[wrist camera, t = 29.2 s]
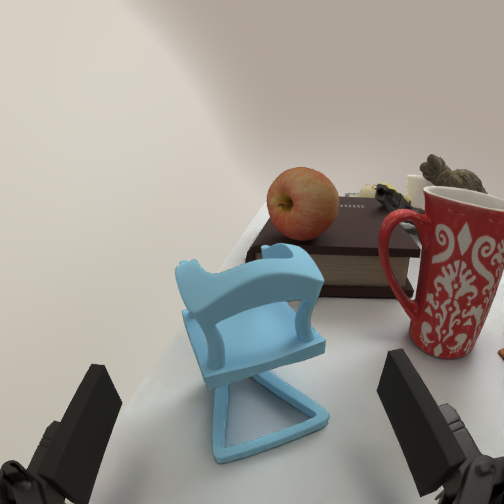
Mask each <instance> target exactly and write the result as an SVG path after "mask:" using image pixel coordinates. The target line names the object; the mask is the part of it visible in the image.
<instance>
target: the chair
mask: <svg viewBox="0 0 504 504" xmlns="http://www.w3.org/2000/svg"><path fill="white" fill-rule="evenodd" d="M261 250H262V257H263V259H259V260H255V261H251V262H248V263H245V264H242V265H240V266H237V267H235V268H232V269H230V270H227V271H224V272H221V273H215V274H211V273H209V272H206V271H205V270H204V269H203V268H202V267H201V266H200V264H199V263H198V261H197V260H196V259H193V260H190V261H187V260H183V261H180V263H179V266H177V267H176V269H175V276H176V281H177V285H178V288H179V291H180V294H181V297H182V299H183V302H184V304H185V306H186V308H187V310H183V311H182V315H183V320H184V324H185V327H186V330H187V333H188V336H189V339H190V342H191V345H192V348H193V351H194V353H195V356H196V359H197V362H198V365H199V368H200V371H201V373H202V376H203V379H204V382H205V384H206V387H207V389H208V390H209V389H213V388H215V398H214V411H213V424H212V450H213V453H214V457H215V460H216V461H217V462H218V463H227V462H231V461H234V460H237V459H241V458H244V457H247V456H250V455H253V454H256V453H259V452H262V451H265V450H268V449H271V448H274V447H276V446H279V445H282V444H284V443H287V442H290V441H292V440H295V439H297V438H299V437H302V436H304V435H307V434H309V433H311V432H314V431H316V430H318V429H320V428H323V427H324V426H326V425H327V423H328V420H329V417H330V416H329V413H328V412H327V411H326V410H325V409H324V408H322V407H321V406H320V405H319V404H317V403H316V402H314V401H313V400H311V399H310V398H308V397H307V396H305V395H304V394H302V393H301V392H299V391H298V390H296V389H295V388H293V387H292V386H290V385H289V384H287V383H286V382H284V381H283V380H281V379H280V378H278V377H277V376H276V375H274V374H273V373H271V372H270V371H269V370H271V369H274V368H277V367H280V366H284V365H288V364H292V363H296V362H300V361H304V360H307V359H310V358H312V357H315V356H318V355H320V354H323V353H325V343H326V340H325V339H324V338H323V337H322V336H321V335H320V334H319V333H318V332H317V331H316V330H315V329H314V328H312V327H311V323H310V318H311V313H312V310H313V308H314V305H315V303H316V301H317V299H318V296H319V293H320V291H321V288H322V286H323V283H324V278H323V276H322V274H321V272H320V271H319V269H318V267H317V265H316V264H315V262H314V261H313V259H312V258H311V257H310V256H309V255H308V253H307V252H306V251H305V250H303V249H302V248H300V247H299V246H294V245H290V244H284V243H277V244H274V245H272V246H268V245H263V246H261ZM293 300H303V301H302V302H301V304H300V306H299V308H298V310H297V312H295V311H294V310H293V309H292V308H291V307H290V306H289V305H288V303H287V302H286V301H293ZM251 376H252V377H253V378H254V379H255V380H257V381H258V382H259V383H260V384H262V385H263V386H265V387H266V388H267V389H269V390H270V391H272V392H273V393H274V394H276V395H277V396H279V397H280V398H282V399H283V400H285V401H286V402H288V403H289V404H291V405H293V406H294V407H296V408H297V409H299V410H300V411H302V412H304V413H305V414H307V415H308V416H310V417H311V419H309V420H306V421H304V422H301V423H299V424H296V425H294V426H291V427H288V428H286V429H283V430H280V431H277V432H275V433H272V434H269V435H266V436H263V437H260V438H257V439H254V440H250V441H247V442H244V443H241V444H237V445H234V446H230V447H225V436H226V424H227V412H228V397H229V384H232V383H235V382H238V381H240V380H243V379H245V378H248V377H251Z"/></svg>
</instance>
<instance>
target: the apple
mask: <svg viewBox="0 0 504 504" xmlns="http://www.w3.org/2000/svg"><path fill="white" fill-rule="evenodd" d="M267 207H268V211H269V215H270V219H271V221H272V223H273V225H274V226H275V228H276V229H277V230H278V231H279V232H281V233H282V234H283V235H285V236H286V237H288V238H290V239H294V240H299V241H306V240H312V239H314V238H317V237H318V236H320V235H321V234H322V233H324V232H325V231H326V230H327V229H328V228H329V227H330V226H331V225H332V223H333V222H334V221H335V219H336V217H337V215H338V211H339V196H338V192H337V190H336V188H335V187H334V185H333V184H332V182H331V181H330V180H329V179H328V178H327V177H326V176H325V175H324V174H322V173H320V172H318V171H316V170H313V169H310V168H306V167H297V168H292V169H289V170H286V171H284V172H283V173H281V174H280V175H279V176H278V177H277V178H276V179H275V181H274V182H273V183H272V185H271V186H270V188H269V190H268V194H267Z"/></svg>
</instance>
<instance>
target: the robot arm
mask: <svg viewBox="0 0 504 504" xmlns="http://www.w3.org/2000/svg"><path fill="white" fill-rule="evenodd" d="M377 393H378V395H379V397H380V400H381V402H382V404H383V406H384V409H385V411H386V413H387V415H388V418H389V420H390V422H391V425H392V427H393V429H394V432H395V434H396V437H397V439H398V441H399V444H400V446H401V449H402V451H403V453H404V456H405V458H406V461H407V463H408V466H409V469H410V471H411V474H412V476H413V479H414V481H415V484H416V487H417V489H418V492H419V495H420V497H422V496H425V495H427V494H430V493H432V492H434V491H436V490H437V489H438V488H439V487H441V486H442V485H443V488H444V490H443V491H442V492H441V493H440V494H438V495H437V496H436V498H435V500H438V499H439V498H440V499H439V502H438V504H504V457H499V458H492V457H490V456H487V455H483V454H481V452H480V451H479V449H478V448H477V446H476V444H475V442H474V440H473V439H472V437H471V435H470V433H469V432H468V430H467V428H465V425H464V423H463V421H461V418H460V416H459V415H458V413H457V412H456V410H455V409H454V408H452V407H451V406H450V405H449V404H447V403H446V404H443V405H441V406H438V405H437V404H436V402H435V400H434V399H433V397H432V395H431V394H430V392H429V390H428V389H427V387H426V385H425V384H424V382H423V380H422V379H421V377H420V375H419V374H418V372H417V371H416V369H415V367H414V366H413V364H412V363H411V361H410V360H409V358H408V356H407V355H406V353H405V352H404V350H403V349H397V350H392V351H388V354H387V358H386V361H385V365H384V368H383V372H382V375H381V378H380V382H379V385H378V388H377ZM121 406H122V401H121V399H120V397H119V395H118V393H117V391H116V389H115V387H114V384H113V382H112V380H111V378H110V376H109V374H108V372H107V369H106V367H105V365H98V364H91V366H90V367H89V370H88V371H87V373H86V375H85V376H84V379H83V380H82V382H81V384H80V386H79V387H78V389H77V391H76V393H75V395H74V397H73V399H72V401H71V402H70V404H69V406H68V408H67V410H66V412H65V414H64V416H63V418H62V420H61V422H58V421H54V422H52V423H51V424H50V425H49V426H48V427H47V429H46V431H45V433H44V435H43V438H42V439H41V441H40V443H39V444H40V445H38V447H37V449H36V451H35V453H34V455H33V458H32V460H31V462H30V464H29V466H28V468H27V470H26V469H25V468H24V467H23V466H22V465H21V464H20V463H19V462H17V461H14V460H11V461H7V462H5V463H4V464H3V465H2V467H1V469H0V504H66V503H65V502H64V501H65V498H67V499H68V500H69V501H71V502H72V503H74V504H88V503H89V500H90V497H91V493H92V490H93V487H94V483H95V480H96V477H97V474H98V471H99V468H100V465H101V462H102V459H103V456H104V453H105V450H106V447H107V444H108V441H109V438H110V436H111V433H112V430H113V427H114V424H115V422H116V419H117V416H118V414H119V411H120V408H121Z"/></svg>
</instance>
